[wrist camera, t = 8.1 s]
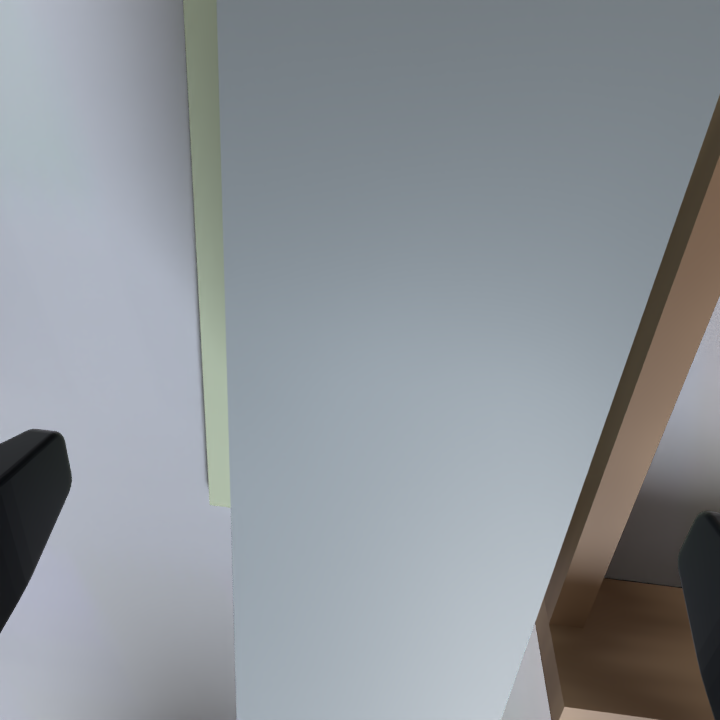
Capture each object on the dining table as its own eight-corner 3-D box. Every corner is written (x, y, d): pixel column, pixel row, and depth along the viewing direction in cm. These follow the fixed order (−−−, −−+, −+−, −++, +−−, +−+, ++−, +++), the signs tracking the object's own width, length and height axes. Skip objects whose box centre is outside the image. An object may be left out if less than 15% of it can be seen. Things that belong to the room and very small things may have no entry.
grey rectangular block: (529, -53, 12) (802, -144, 3) (425, 507, 19) (423, 940, 10) (367, -68, 12) (210, -198, 3) (325, 494, 19) (242, 913, 10)
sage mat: (729, -98, 11) (738, -100, 11) (532, 536, 20) (534, 546, 19) (182, -147, 12) (174, -151, 12) (213, 496, 20) (209, 504, 20)
